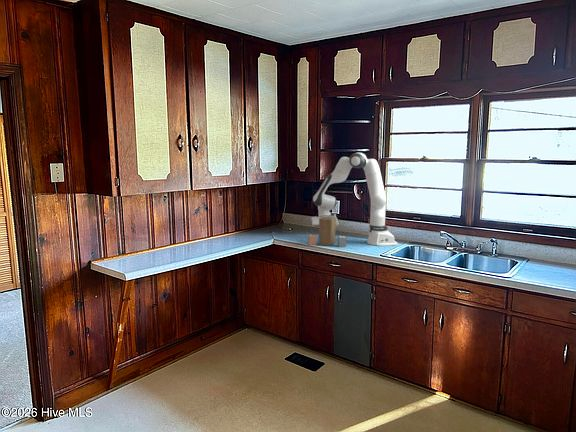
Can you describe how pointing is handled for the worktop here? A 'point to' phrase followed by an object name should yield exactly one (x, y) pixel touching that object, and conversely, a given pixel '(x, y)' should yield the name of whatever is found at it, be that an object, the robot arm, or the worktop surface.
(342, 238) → the slate block
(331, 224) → the wooden block
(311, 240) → the terracotta block
